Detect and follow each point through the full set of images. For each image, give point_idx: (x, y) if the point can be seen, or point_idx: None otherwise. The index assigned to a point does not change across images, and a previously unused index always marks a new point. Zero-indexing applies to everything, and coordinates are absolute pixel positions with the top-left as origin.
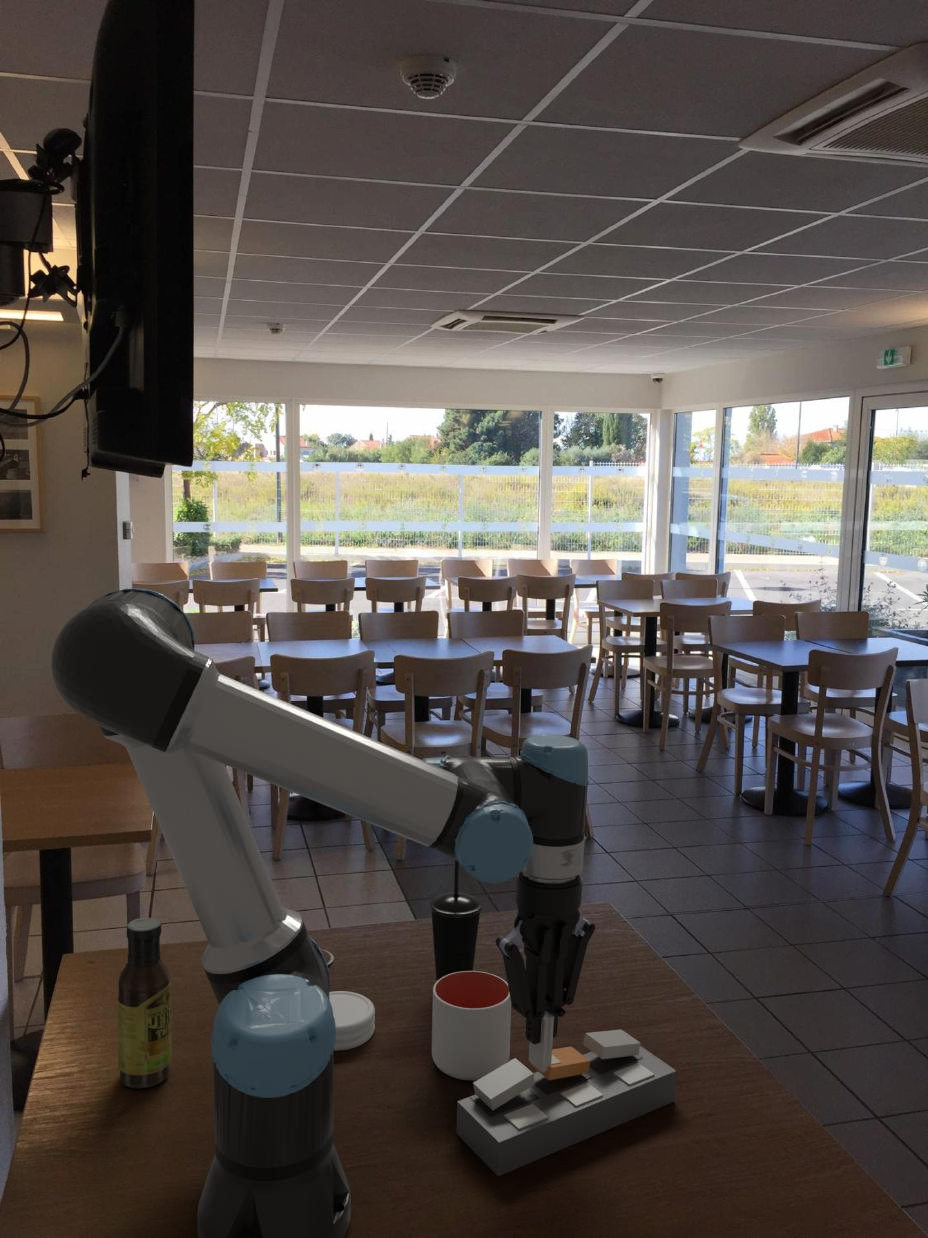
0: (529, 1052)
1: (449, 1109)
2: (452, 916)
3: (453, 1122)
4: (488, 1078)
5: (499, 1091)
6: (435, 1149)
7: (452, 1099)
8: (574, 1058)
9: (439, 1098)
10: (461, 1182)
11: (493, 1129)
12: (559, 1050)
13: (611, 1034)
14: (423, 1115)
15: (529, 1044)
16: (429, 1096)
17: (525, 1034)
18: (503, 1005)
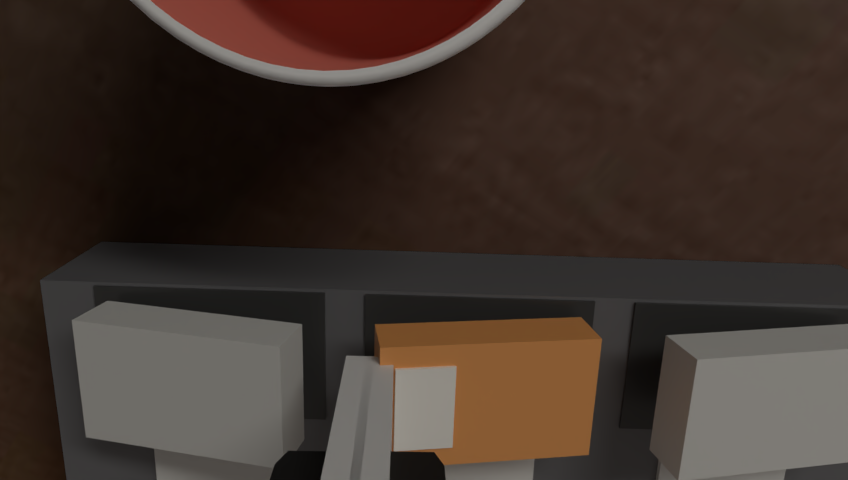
0: (343, 377)
1: (141, 118)
2: None
3: (121, 186)
4: (131, 349)
5: (130, 433)
6: (8, 265)
7: (178, 74)
8: (537, 426)
9: (138, 42)
10: (19, 415)
11: (85, 467)
12: (521, 358)
13: (809, 383)
14: (41, 97)
15: (338, 396)
16: (109, 10)
17: (274, 467)
18: (405, 75)
